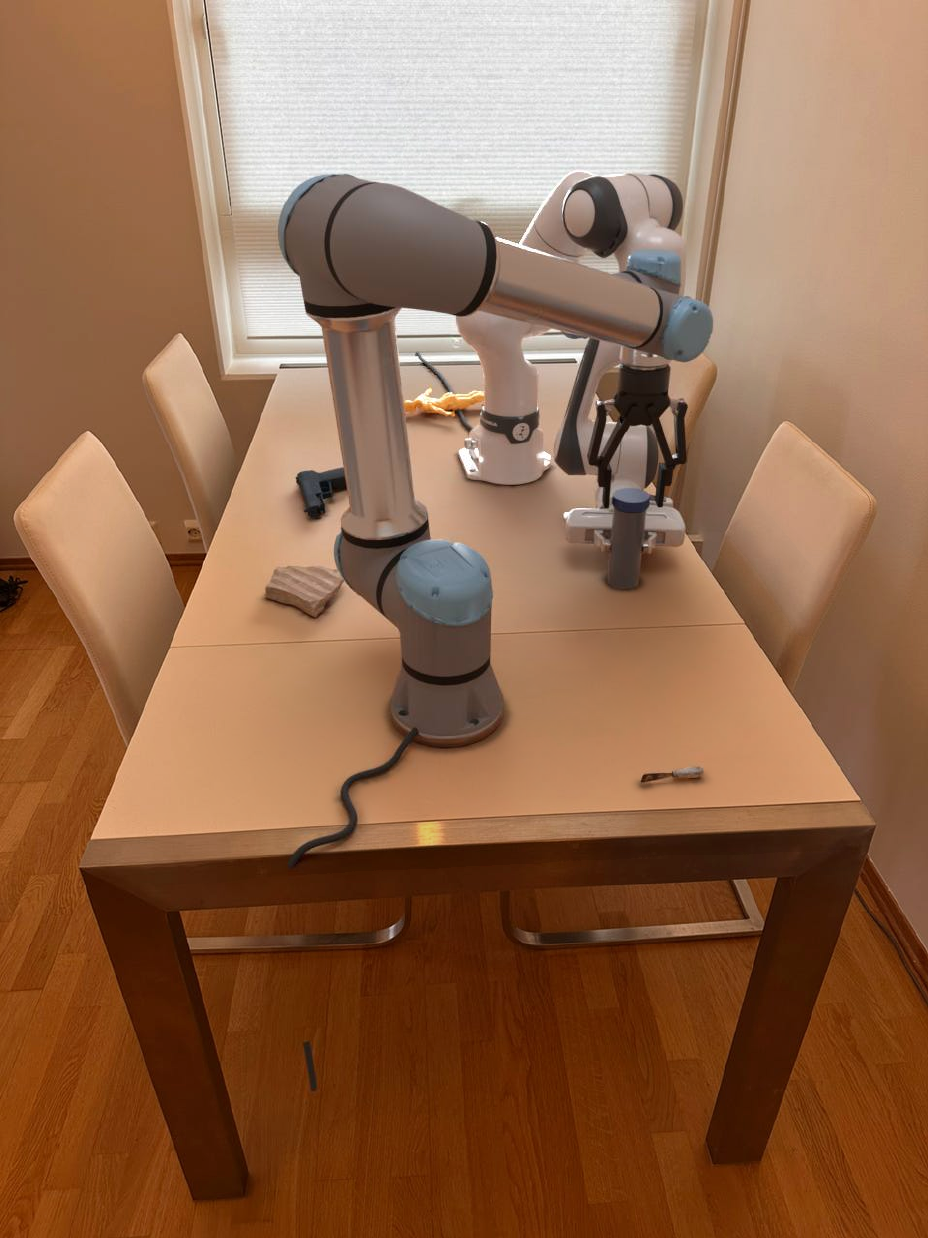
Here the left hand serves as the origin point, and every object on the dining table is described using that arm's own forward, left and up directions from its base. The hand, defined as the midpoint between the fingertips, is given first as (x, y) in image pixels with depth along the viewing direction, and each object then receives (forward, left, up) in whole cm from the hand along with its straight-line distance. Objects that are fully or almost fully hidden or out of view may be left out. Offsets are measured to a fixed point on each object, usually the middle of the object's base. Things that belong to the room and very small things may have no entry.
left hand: (632, 503), depth 144 cm
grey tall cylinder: (0, 0, -14) cm, 14 cm away
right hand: (-1, 0, -8) cm, 8 cm away
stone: (-16, +51, -14) cm, 56 cm away
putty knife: (-49, -9, -14) cm, 52 cm away
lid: (0, 0, +1) cm, 1 cm away
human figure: (+79, +48, -14) cm, 94 cm away
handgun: (+22, +60, -14) cm, 66 cm away
